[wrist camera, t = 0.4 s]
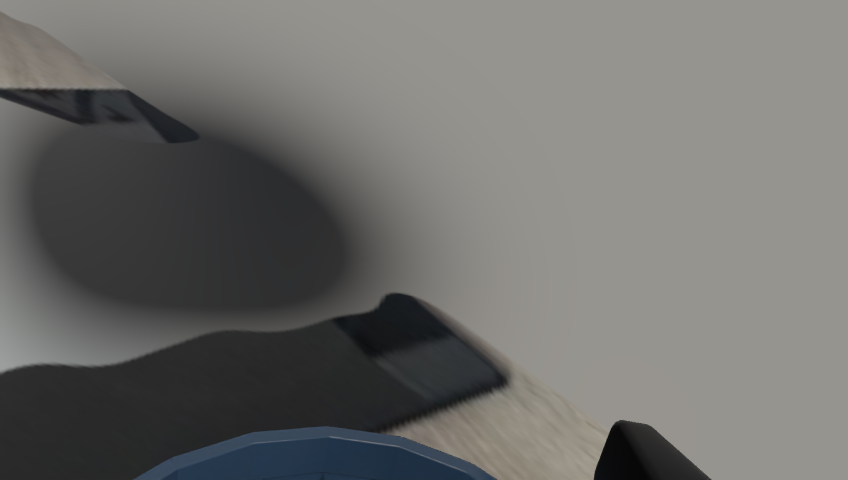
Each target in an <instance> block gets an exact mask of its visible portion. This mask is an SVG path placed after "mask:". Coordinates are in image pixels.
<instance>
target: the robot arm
mask: <svg viewBox="0 0 848 480" xmlns="http://www.w3.org/2000/svg"><path fill="white" fill-rule="evenodd" d="M594 480H711V479H710V478H709V477H708V476H707V475H705V474H704V473H703V472H702V471H701V470H700V469H699V468H698V467H697V466H695V465H694V464H693V463H692V462H691V461H690V460H689V459H687V458H686V457H685V456H684V455H683V454H682V453H681V452H680V451H679V450H677V449H676V448H675V447H674V446H673V445H672V444H671V443H669V442H668V441H667V440H666V439H665V438H664V437H663V436H661V435H660V434H659V433H658V432H657V431H656V430H655V429H654V428H652V427H651V426H649V425H647V424H642V423H636V422H630V421H624V420H620V421H617V422H615V424H614V425H613V426H612V428H611V430H610V432H609V435H608V438H607V440H606V443H605V446H604V448H603V451H602V454H601V456H600V459H599V461H598V464H597V467H596V470H595V474H594Z"/></svg>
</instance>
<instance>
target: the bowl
mask: <svg viewBox="0 0 848 480" xmlns="http://www.w3.org/2000/svg"><path fill="white" fill-rule="evenodd" d="M133 480H497V479H495V478H494V477H492V476H491V475H489V474H488V473H486V472H485V471H483V470H482V469H480V468H479V467H477V466H476V465H474V464H472V463H470V462H468V461H465V460H462V459H460V458H457V457H454V456H452V455H449V454H446V453H444V452H441V451H439V450H436V449H433V448H431V447H428V446H425V445H423V444H420V443H417V442H415V441H412V440H409V439H407V438H404V437H402V438H401V437H400V436H394V435H387V434H380V433H373V432H365V431H358V430H351V429H344V428H337V427H328V426H322V427H310V428H298V429H286V430H274V431H262V432H252V433H251V434H250V433H248V434H245V435H241V436H238V437H235V438H232V439H229V440H226V441H222V442H219V443H216V444H213V445H210V446H207V447H203V448H200V449H197V450H194V451H191V452H188V453H184V454H181V455H178V456H175V457H172V458H171V459H167V460H166V461H164V462H162V463H161V464H159V465H157V466H156V467H154V468H152V469H150V470H149V471H147V472H145V473H144V474H142V475H140V476H138V477H137V478H135V479H133Z"/></svg>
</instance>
